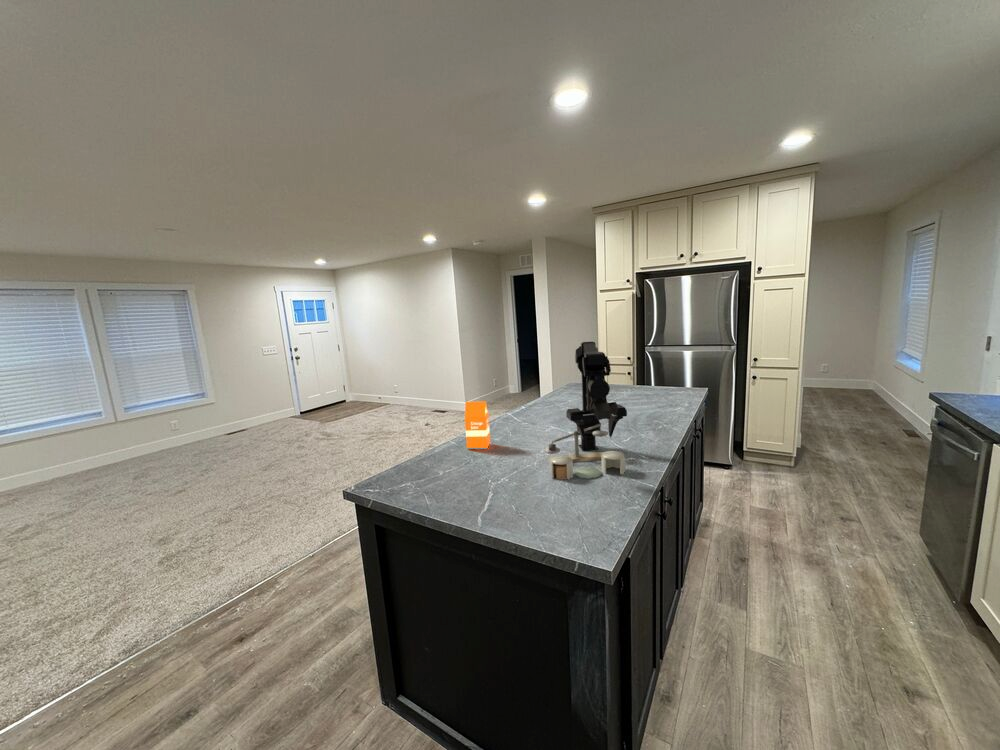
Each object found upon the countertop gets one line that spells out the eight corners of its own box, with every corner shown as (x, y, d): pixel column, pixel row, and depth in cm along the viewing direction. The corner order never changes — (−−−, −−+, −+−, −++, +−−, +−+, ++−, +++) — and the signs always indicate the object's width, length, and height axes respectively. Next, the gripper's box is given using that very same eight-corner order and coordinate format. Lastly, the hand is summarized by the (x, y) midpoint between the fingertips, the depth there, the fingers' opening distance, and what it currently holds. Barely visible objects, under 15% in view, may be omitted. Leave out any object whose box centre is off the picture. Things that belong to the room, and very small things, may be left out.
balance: (547, 465, 146) (545, 430, 144) (544, 459, 152) (542, 426, 150) (610, 459, 148) (610, 425, 146) (605, 454, 153) (604, 421, 151)
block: (554, 474, 138) (554, 463, 137) (566, 473, 138) (565, 462, 138) (557, 479, 134) (556, 467, 133) (568, 478, 134) (568, 466, 134)
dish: (572, 469, 141) (572, 467, 140) (595, 467, 141) (595, 465, 141) (578, 479, 132) (578, 477, 132) (604, 477, 133) (604, 475, 133)
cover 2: (599, 468, 141) (599, 451, 140) (619, 466, 141) (619, 450, 140) (606, 476, 133) (606, 459, 132) (627, 474, 134) (627, 457, 133)
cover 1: (549, 472, 139) (548, 456, 138) (569, 471, 140) (568, 454, 139) (553, 481, 132) (552, 464, 131) (574, 479, 133) (574, 462, 132)
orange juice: (470, 444, 176) (467, 399, 173) (490, 444, 174) (487, 399, 171) (467, 450, 168) (463, 404, 165) (487, 450, 167) (484, 403, 164)
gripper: (574, 399, 121) (576, 448, 123) (634, 394, 123) (634, 442, 125) (565, 392, 132) (566, 437, 134) (619, 387, 134) (620, 432, 136)
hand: (597, 437), depth 132 cm, fingers open, 9 cm apart
